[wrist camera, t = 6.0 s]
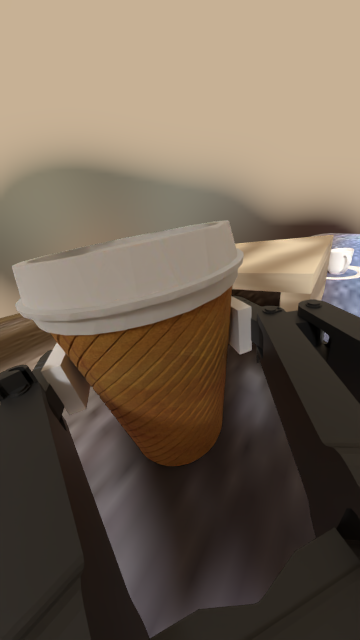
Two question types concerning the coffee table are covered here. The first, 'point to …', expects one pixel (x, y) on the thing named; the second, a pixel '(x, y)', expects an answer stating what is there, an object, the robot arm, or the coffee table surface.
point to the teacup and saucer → (341, 263)
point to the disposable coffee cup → (145, 329)
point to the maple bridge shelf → (286, 268)
